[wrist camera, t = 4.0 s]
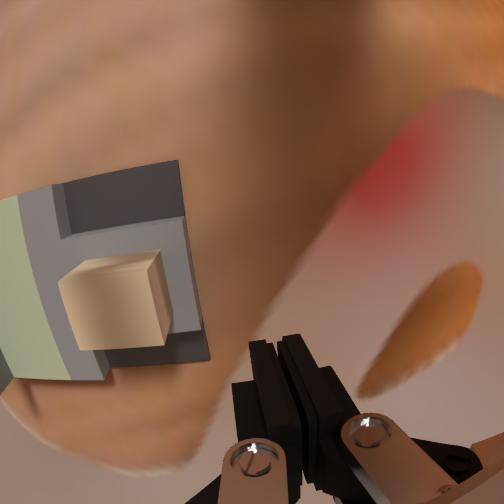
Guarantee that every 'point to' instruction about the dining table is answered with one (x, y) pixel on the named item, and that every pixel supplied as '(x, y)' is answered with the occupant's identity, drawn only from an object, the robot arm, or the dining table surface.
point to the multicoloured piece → (85, 248)
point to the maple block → (118, 301)
